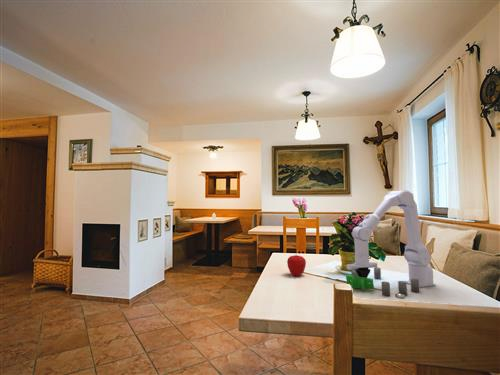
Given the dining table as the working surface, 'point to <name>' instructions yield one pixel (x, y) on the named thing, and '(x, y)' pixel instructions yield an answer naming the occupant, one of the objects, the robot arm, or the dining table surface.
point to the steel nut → (399, 295)
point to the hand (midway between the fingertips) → (362, 285)
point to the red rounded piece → (296, 265)
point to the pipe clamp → (360, 282)
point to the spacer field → (386, 285)
